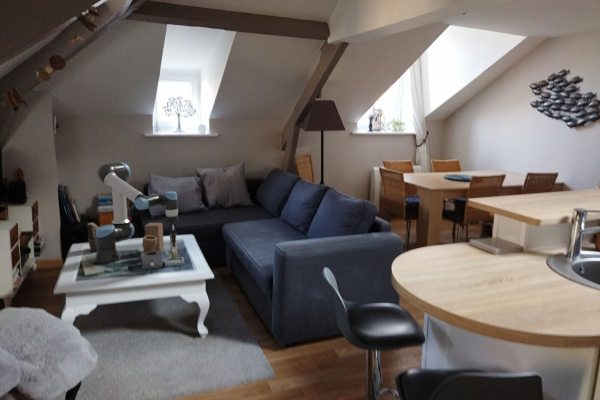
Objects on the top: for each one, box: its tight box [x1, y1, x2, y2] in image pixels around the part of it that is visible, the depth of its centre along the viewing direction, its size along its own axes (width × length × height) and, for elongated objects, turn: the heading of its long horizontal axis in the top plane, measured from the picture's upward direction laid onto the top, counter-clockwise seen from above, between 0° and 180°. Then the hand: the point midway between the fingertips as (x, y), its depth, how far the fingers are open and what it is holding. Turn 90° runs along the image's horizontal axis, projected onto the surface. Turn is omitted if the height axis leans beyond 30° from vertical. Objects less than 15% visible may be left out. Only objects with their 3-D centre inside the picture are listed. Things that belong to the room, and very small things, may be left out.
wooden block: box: [144, 222, 165, 252], centre depth 328 cm, size 10×10×20 cm
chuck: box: [141, 250, 163, 270], centre depth 292 cm, size 12×18×8 cm, turn 19°
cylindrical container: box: [169, 233, 178, 259], centre depth 298 cm, size 4×4×16 cm
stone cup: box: [139, 235, 157, 260], centre depth 314 cm, size 15×12×15 cm
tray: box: [163, 256, 185, 268], centre depth 300 cm, size 12×12×2 cm
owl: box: [86, 221, 99, 253], centre depth 331 cm, size 13×13×20 cm
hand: (173, 250), depth 299 cm, fingers closed on cylindrical container, 4 cm apart
